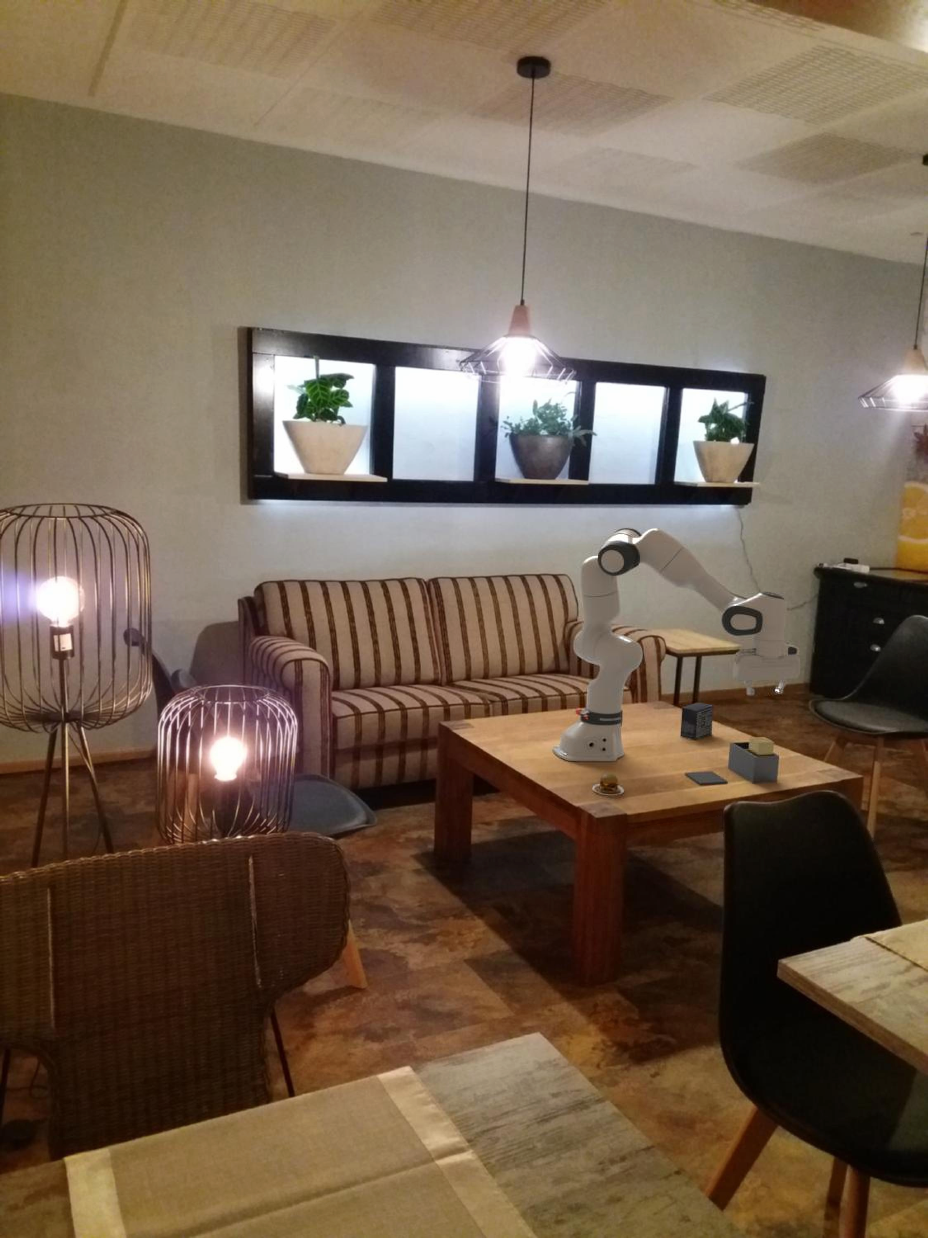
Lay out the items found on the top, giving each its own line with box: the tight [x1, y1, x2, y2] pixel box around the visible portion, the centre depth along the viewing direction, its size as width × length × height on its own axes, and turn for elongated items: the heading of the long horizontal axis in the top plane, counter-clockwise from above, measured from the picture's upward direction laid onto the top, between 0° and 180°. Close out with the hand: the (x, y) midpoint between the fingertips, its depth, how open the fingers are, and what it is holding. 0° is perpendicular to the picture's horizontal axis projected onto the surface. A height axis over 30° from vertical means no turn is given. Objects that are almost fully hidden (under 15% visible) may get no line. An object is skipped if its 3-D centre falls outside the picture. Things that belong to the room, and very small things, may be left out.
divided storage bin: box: [727, 741, 780, 784], centre depth 285 cm, size 8×14×8 cm, turn 15°
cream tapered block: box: [748, 736, 775, 757], centre depth 281 cm, size 5×5×8 cm
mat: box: [684, 770, 728, 786], centre depth 281 cm, size 9×9×1 cm
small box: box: [680, 701, 714, 741], centre depth 324 cm, size 11×6×10 cm, turn 134°
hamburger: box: [592, 773, 625, 796], centre depth 268 cm, size 12×12×6 cm
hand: (764, 693), depth 278 cm, fingers open, 8 cm apart
